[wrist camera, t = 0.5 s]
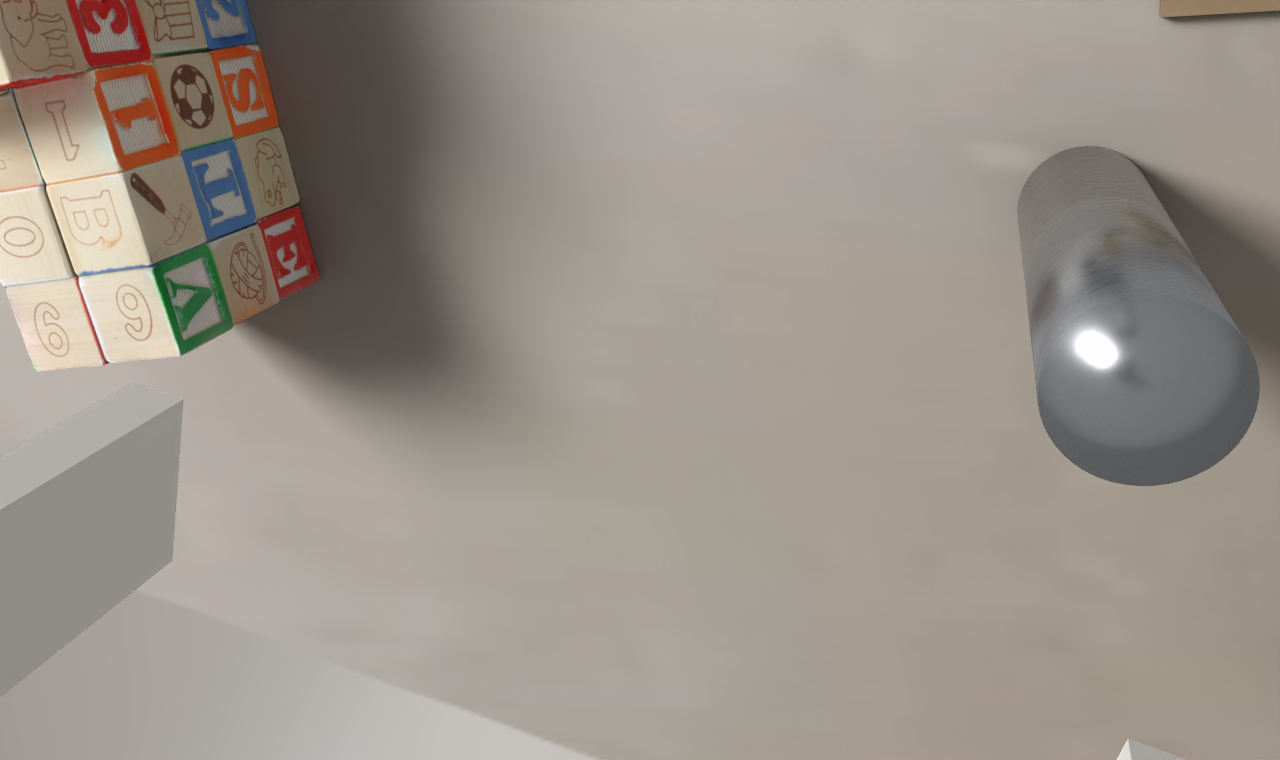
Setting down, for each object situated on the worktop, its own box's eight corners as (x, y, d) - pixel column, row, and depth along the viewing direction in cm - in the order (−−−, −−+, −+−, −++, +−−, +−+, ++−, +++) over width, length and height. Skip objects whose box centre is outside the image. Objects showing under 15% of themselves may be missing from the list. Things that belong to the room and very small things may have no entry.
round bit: (1019, 148, 37) (1042, 295, 23) (1156, 144, 36) (1270, 295, 21) (1015, 269, 38) (1033, 481, 24) (1146, 270, 37) (1248, 490, 23)
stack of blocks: (328, 280, 46) (119, 396, 35) (196, 296, 48) (-41, 410, 37) (161, -332, 39) (-166, -431, 28) (15, -285, 41) (-345, -360, 30)
